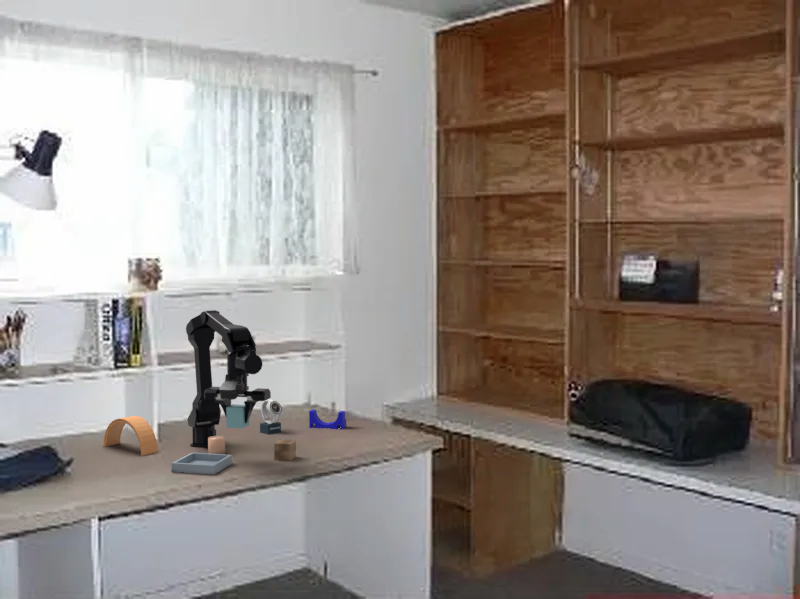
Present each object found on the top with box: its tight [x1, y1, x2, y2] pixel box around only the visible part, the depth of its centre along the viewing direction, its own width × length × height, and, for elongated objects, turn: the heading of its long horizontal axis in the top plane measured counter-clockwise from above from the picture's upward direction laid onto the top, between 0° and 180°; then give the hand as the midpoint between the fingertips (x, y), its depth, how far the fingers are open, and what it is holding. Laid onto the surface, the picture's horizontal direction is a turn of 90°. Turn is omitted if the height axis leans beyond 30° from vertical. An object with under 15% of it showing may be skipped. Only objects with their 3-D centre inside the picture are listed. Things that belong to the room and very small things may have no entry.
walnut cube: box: [273, 439, 297, 462], centre depth 259 cm, size 5×5×5 cm
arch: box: [103, 415, 159, 456], centre depth 270 cm, size 6×20×10 cm, turn 52°
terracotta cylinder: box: [207, 435, 226, 455], centre depth 264 cm, size 5×5×5 cm
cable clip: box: [308, 409, 347, 430], centre depth 303 cm, size 12×4×6 cm, turn 77°
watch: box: [259, 398, 283, 435], centre depth 294 cm, size 6×8×11 cm
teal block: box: [225, 403, 250, 429], centre depth 256 cm, size 5×5×6 cm
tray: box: [171, 452, 233, 476], centre depth 248 cm, size 13×13×2 cm
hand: (237, 422), depth 256 cm, fingers closed on teal block, 5 cm apart
